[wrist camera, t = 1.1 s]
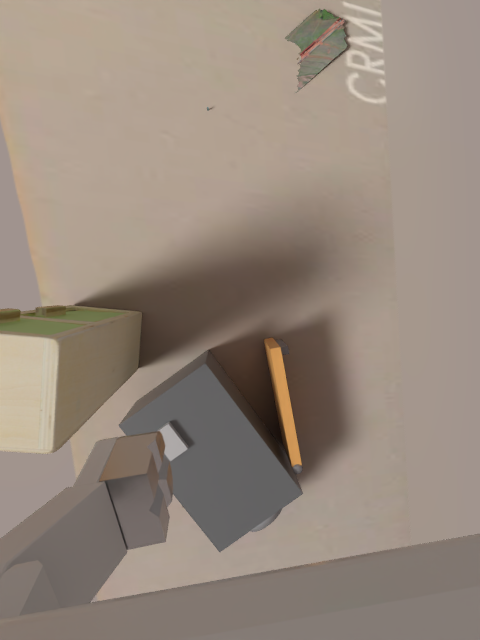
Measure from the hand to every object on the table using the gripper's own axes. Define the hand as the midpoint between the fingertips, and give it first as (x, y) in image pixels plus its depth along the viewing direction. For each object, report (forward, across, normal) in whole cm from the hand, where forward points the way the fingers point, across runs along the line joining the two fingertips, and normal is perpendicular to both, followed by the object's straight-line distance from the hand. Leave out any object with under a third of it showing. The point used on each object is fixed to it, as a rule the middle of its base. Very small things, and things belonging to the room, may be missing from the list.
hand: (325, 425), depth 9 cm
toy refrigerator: (+32, -16, -6) cm, 36 cm away
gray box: (+29, -6, -18) cm, 35 cm away
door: (+29, +2, -15) cm, 33 cm away
